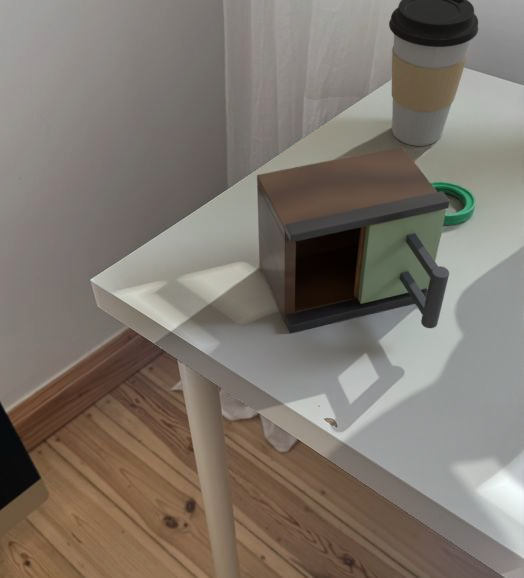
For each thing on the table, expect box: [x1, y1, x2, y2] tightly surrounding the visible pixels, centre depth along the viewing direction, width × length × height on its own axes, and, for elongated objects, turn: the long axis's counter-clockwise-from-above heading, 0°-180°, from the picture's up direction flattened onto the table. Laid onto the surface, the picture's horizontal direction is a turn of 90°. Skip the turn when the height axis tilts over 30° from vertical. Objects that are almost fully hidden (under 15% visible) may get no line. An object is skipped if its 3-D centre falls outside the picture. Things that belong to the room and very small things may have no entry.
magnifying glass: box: [429, 181, 477, 226], centre depth 78 cm, size 15×6×2 cm, turn 84°
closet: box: [256, 145, 451, 334], centre depth 67 cm, size 10×14×12 cm
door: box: [358, 209, 450, 329], centre depth 63 cm, size 7×7×9 cm
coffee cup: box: [388, 0, 479, 147], centre depth 83 cm, size 9×9×15 cm
